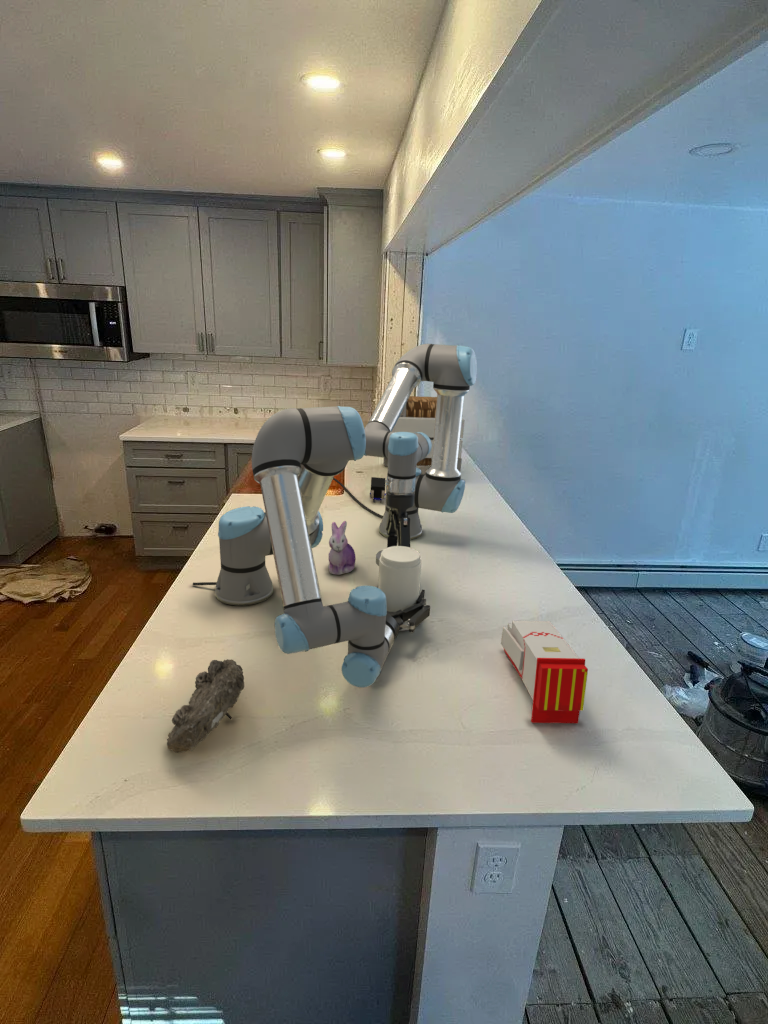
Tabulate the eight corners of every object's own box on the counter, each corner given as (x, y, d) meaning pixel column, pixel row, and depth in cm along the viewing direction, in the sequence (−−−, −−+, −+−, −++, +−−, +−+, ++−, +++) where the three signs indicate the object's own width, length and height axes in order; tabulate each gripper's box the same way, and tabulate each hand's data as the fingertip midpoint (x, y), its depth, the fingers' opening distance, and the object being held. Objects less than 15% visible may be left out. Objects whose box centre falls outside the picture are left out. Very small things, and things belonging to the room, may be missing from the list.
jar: (368, 616, 146) (371, 550, 139) (401, 606, 151) (405, 542, 145) (392, 635, 138) (396, 565, 132) (425, 623, 144) (430, 556, 137)
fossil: (192, 660, 117) (244, 628, 112) (224, 691, 120) (276, 661, 115) (142, 746, 98) (202, 712, 93) (182, 779, 101) (242, 748, 96)
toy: (547, 606, 135) (596, 665, 106) (541, 658, 138) (589, 729, 108) (496, 604, 134) (532, 664, 105) (492, 657, 137) (526, 729, 108)
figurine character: (385, 507, 229) (385, 492, 243) (386, 490, 226) (386, 476, 239) (369, 507, 229) (369, 491, 242) (369, 490, 226) (370, 475, 239)
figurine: (333, 578, 165) (334, 530, 160) (320, 564, 173) (320, 518, 168) (362, 573, 169) (364, 526, 164) (348, 559, 177) (349, 514, 172)
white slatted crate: (382, 463, 289) (386, 382, 275) (445, 464, 293) (451, 384, 279) (390, 482, 257) (394, 392, 243) (460, 483, 261) (468, 394, 247)
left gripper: (330, 640, 130) (359, 596, 150) (428, 659, 125) (444, 611, 145) (330, 611, 128) (360, 570, 148) (430, 629, 122) (447, 584, 142)
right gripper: (377, 479, 160) (374, 550, 167) (397, 506, 138) (392, 586, 146) (403, 478, 162) (399, 549, 169) (426, 505, 140) (420, 585, 147)
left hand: (402, 590), depth 146 cm, fingers closed on jar, 10 cm apart
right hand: (396, 566), depth 157 cm, fingers closed on lid, 11 cm apart
